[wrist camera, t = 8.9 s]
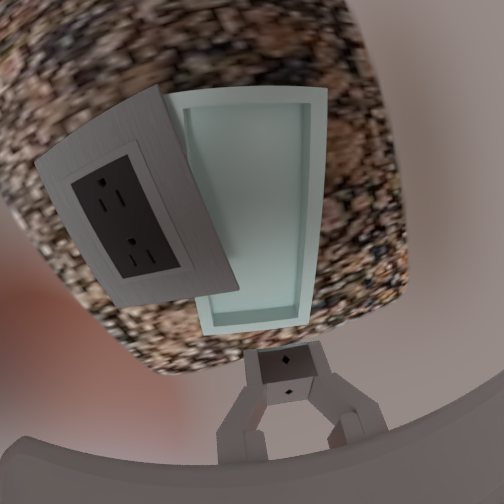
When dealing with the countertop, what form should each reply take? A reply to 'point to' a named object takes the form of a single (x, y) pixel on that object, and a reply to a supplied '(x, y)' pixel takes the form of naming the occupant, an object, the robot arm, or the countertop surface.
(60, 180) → the electrical outlet
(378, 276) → the countertop surface
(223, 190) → the parts tray
